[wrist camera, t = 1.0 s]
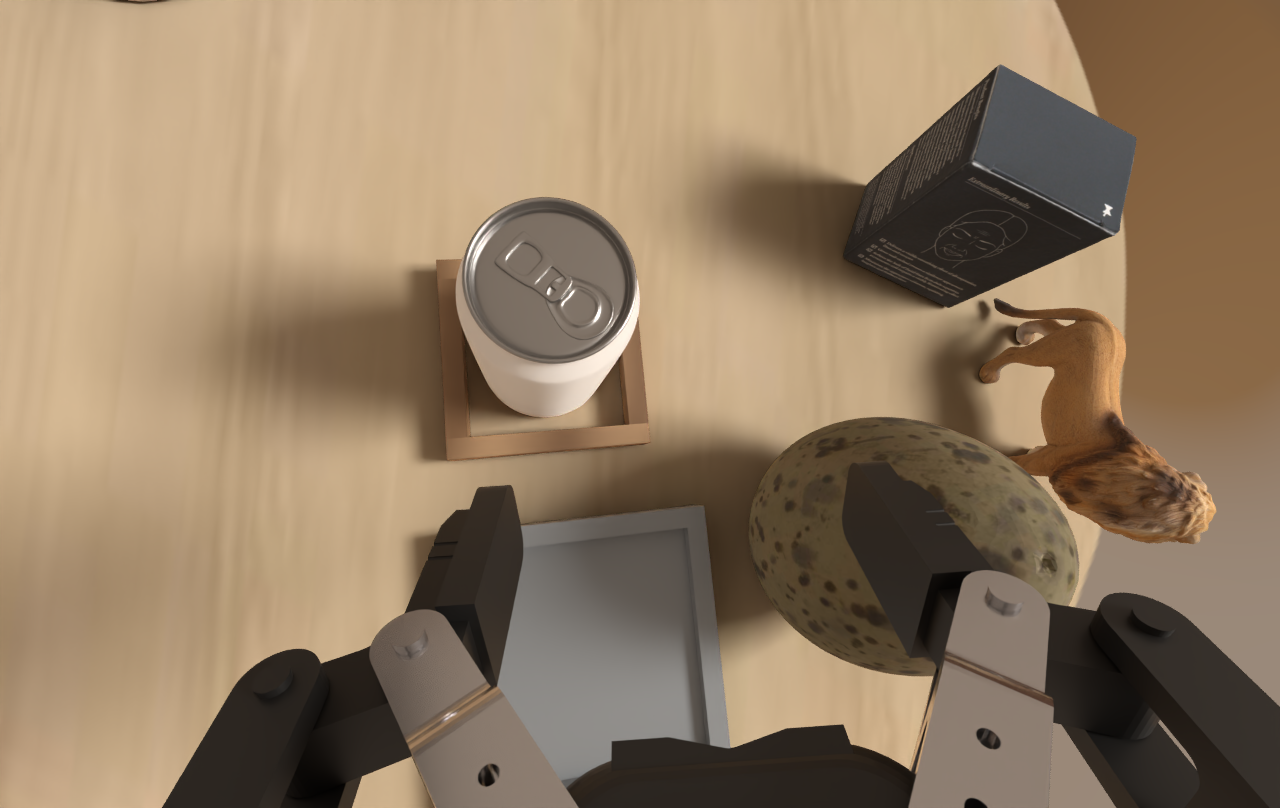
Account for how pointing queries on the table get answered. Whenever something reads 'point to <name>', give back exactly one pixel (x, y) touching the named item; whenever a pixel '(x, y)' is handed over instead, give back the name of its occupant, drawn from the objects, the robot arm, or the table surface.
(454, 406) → the frame
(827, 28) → the table surface
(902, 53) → the table surface
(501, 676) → the tray
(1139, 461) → the lion figurine
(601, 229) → the can
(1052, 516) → the decorative egg
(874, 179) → the box
